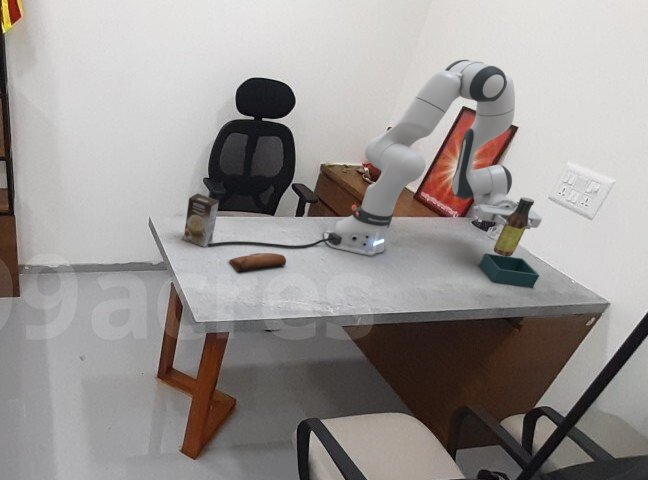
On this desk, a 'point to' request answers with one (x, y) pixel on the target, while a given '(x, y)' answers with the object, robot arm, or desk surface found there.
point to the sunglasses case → (257, 261)
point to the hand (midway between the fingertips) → (517, 225)
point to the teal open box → (508, 270)
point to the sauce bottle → (514, 228)
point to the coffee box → (200, 219)
